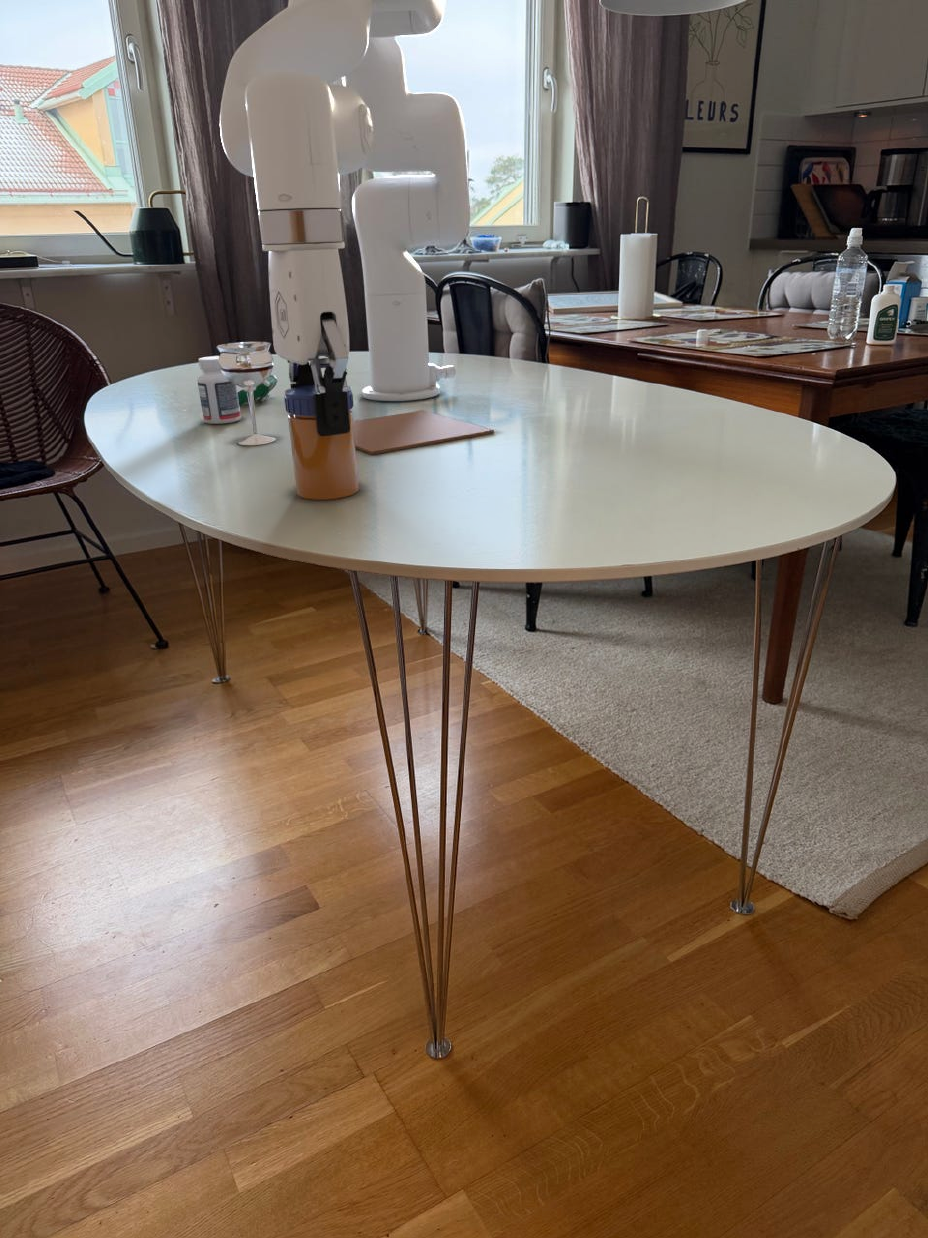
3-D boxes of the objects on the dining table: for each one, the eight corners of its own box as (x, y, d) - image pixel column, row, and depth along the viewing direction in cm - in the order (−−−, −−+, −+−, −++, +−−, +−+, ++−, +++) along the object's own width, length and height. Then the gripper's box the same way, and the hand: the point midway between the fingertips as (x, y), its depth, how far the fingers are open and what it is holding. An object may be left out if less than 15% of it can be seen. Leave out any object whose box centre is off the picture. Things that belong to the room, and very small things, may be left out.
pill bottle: (246, 416, 126) (237, 354, 123) (234, 424, 122) (224, 359, 118) (211, 417, 127) (202, 355, 123) (198, 424, 122) (188, 360, 119)
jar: (342, 479, 93) (333, 389, 89) (369, 492, 88) (362, 397, 84) (287, 489, 90) (275, 396, 86) (312, 503, 85) (302, 405, 81)
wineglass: (264, 432, 116) (252, 340, 111) (293, 439, 112) (282, 343, 107) (220, 441, 112) (205, 346, 107) (247, 449, 107) (234, 349, 102)
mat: (422, 412, 125) (422, 410, 125) (494, 432, 111) (494, 429, 111) (309, 430, 116) (309, 427, 116) (372, 454, 103) (371, 451, 102)
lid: (277, 407, 87) (275, 388, 86) (339, 400, 89) (338, 381, 88) (297, 418, 81) (295, 398, 80) (363, 410, 84) (361, 390, 83)
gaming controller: (248, 417, 135) (271, 389, 133) (228, 400, 134) (252, 372, 132) (261, 406, 143) (283, 380, 142) (243, 390, 142) (265, 363, 140)
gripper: (238, 234, 84) (261, 418, 91) (290, 232, 70) (313, 449, 77) (311, 232, 87) (328, 410, 95) (375, 229, 73) (389, 438, 80)
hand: (321, 426), depth 86 cm, fingers closed on lid, 6 cm apart
